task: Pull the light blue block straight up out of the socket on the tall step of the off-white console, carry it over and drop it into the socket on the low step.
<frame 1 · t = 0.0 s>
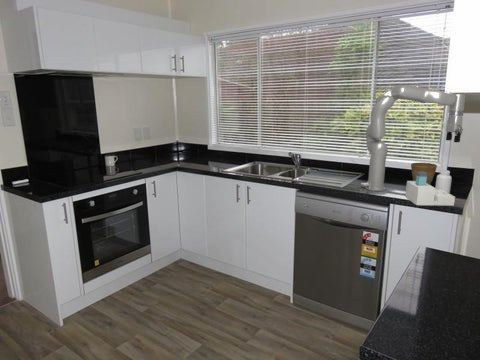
hand: (452, 141, 217), 31 cm above the countertop, fingers open, 9 cm apart
plant pot: (421, 188, 228), on the countertop
console: (428, 201, 200), on the countertop
light blue block: (419, 191, 199), point 6 cm above the countertop, touching console
pill bottle: (441, 194, 213), on the countertop
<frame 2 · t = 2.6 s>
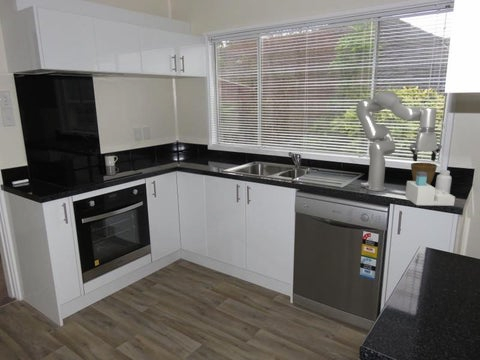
hand: (423, 160, 195), 24 cm above the countertop, fingers open, 9 cm apart
nothing on the countertop moved.
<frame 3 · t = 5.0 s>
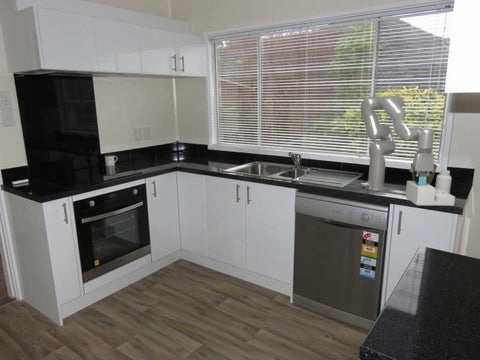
hand: (420, 182, 198), 11 cm above the countertop, fingers closed on light blue block, 4 cm apart
light blue block: (419, 191, 199), point 6 cm above the countertop, touching console, gripper
everything else where it was.
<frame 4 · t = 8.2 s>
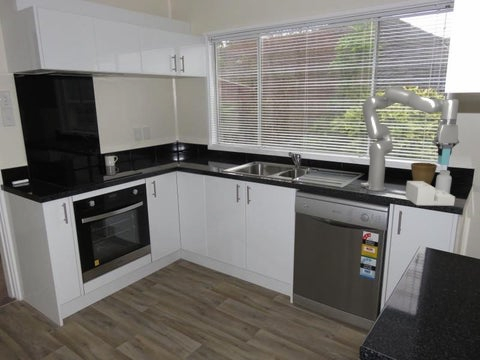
hand: (444, 154, 193), 27 cm above the countertop, fingers closed on light blue block, 4 cm apart
light blue block: (443, 164, 195), point 22 cm above the countertop, touching gripper
everything else where it was.
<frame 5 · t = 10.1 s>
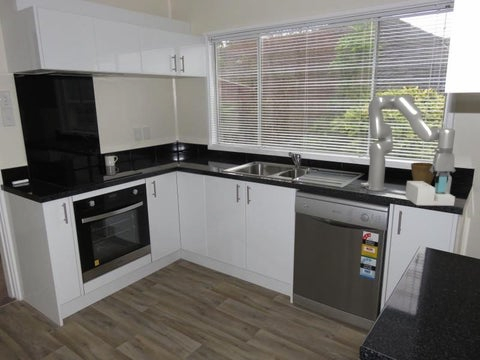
hand: (440, 182, 197), 11 cm above the countertop, fingers closed on light blue block, 4 cm apart
light blue block: (439, 191, 198), point 6 cm above the countertop, touching gripper
everything else where it was.
when the fingers open (8 cm above the countertop, at t = 11.8 s): light blue block drops 1 cm, resting on console.
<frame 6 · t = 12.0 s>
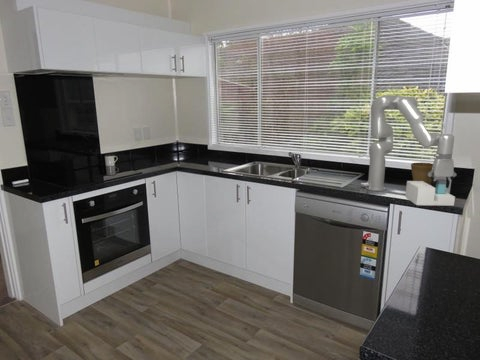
hand: (440, 187, 198), 8 cm above the countertop, fingers open, 6 cm apart
light blue block: (438, 198, 199), point 1 cm above the countertop, touching console
everything else where it was.
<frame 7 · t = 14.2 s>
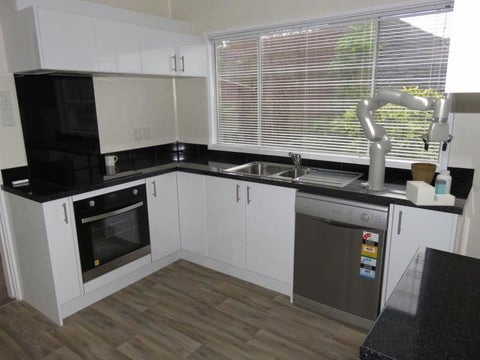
hand: (434, 150, 199), 29 cm above the countertop, fingers open, 9 cm apart
nothing on the countertop moved.
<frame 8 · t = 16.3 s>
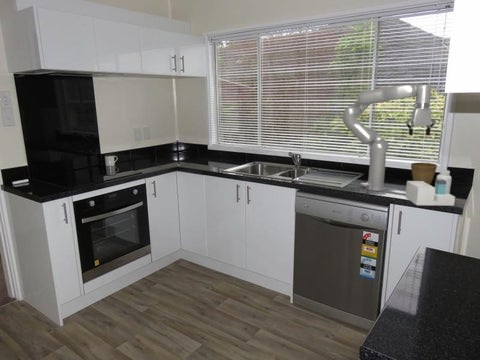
hand: (419, 135, 208), 36 cm above the countertop, fingers open, 9 cm apart
nothing on the countertop moved.
at the end: light blue block 0.0 cm from the target spot on the console, point 1.5 cm above the console's base; light blue block tilted 0°; the gripper is holding nothing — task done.
